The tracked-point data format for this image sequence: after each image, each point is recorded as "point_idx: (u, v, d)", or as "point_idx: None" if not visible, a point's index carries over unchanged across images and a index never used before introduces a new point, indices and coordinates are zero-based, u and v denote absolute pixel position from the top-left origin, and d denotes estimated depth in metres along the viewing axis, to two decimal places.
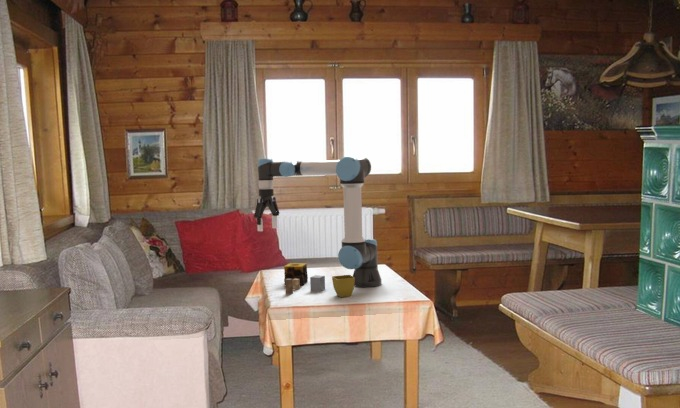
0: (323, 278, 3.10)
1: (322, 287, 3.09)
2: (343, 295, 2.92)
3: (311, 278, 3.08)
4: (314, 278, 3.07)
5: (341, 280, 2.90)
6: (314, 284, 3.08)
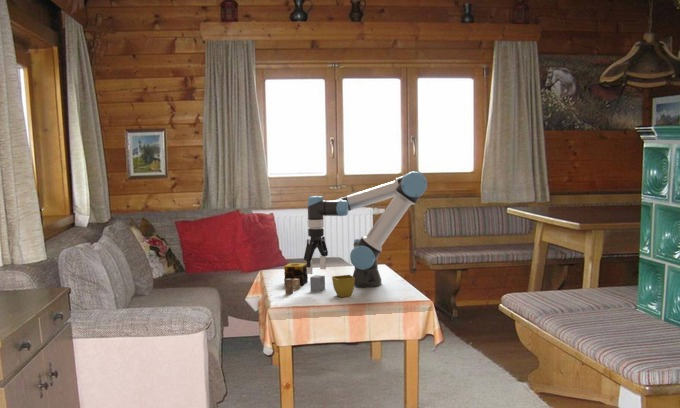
0: (323, 278, 3.10)
1: (322, 287, 3.09)
2: (343, 295, 2.92)
3: (311, 278, 3.08)
4: (314, 278, 3.07)
5: (341, 280, 2.90)
6: (314, 284, 3.08)
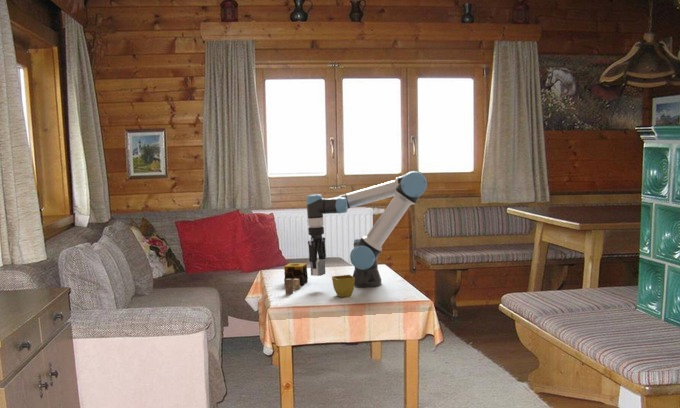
0: (323, 263, 3.09)
1: (322, 272, 3.08)
2: (343, 295, 2.92)
3: (311, 263, 3.08)
4: None
5: (341, 280, 2.90)
6: None
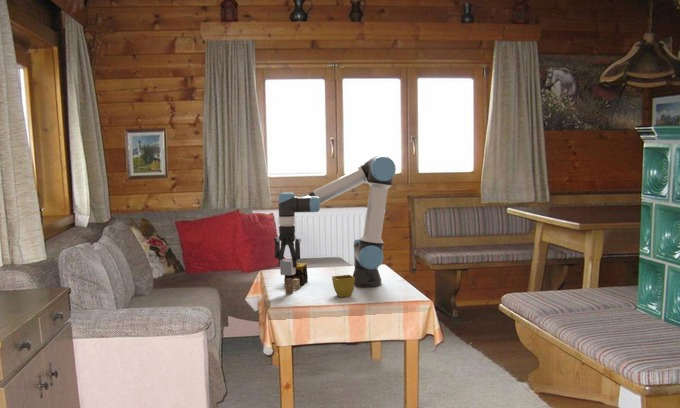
0: (287, 263, 3.00)
1: (285, 272, 3.00)
2: (343, 295, 2.92)
3: None
4: None
5: (341, 280, 2.90)
6: None
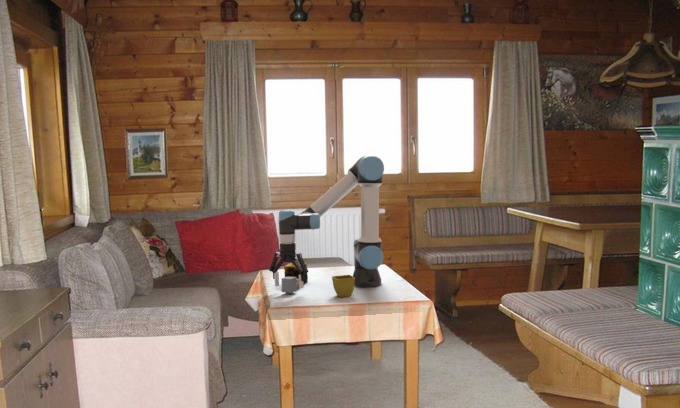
0: (288, 281, 3.00)
1: (286, 289, 3.01)
2: (343, 295, 2.92)
3: None
4: None
5: (341, 280, 2.90)
6: None
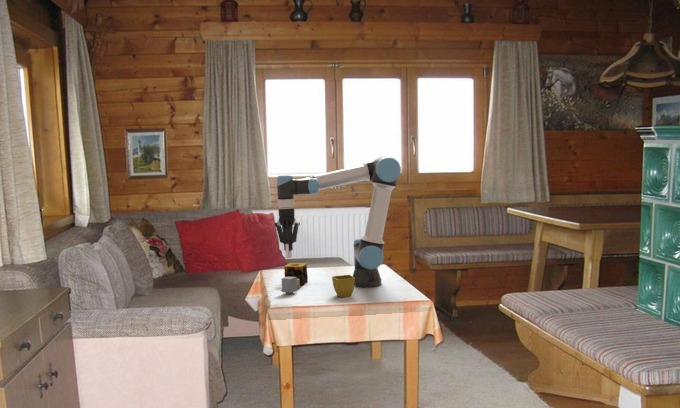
0: (288, 281, 3.00)
1: (286, 289, 3.01)
2: (343, 295, 2.92)
3: None
4: None
5: (341, 280, 2.90)
6: None
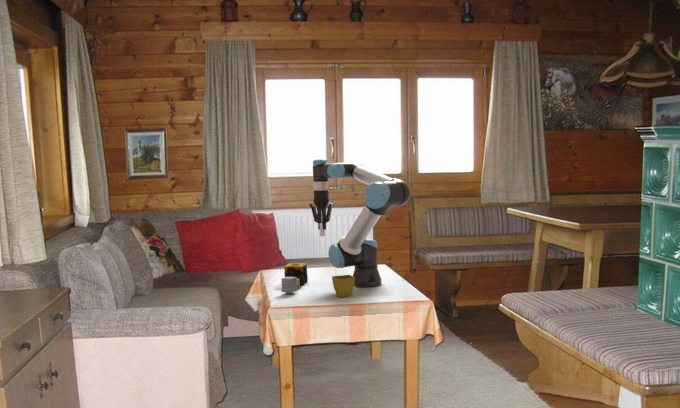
0: (288, 281, 3.00)
1: (286, 289, 3.01)
2: (343, 295, 2.92)
3: None
4: None
5: (341, 280, 2.90)
6: None
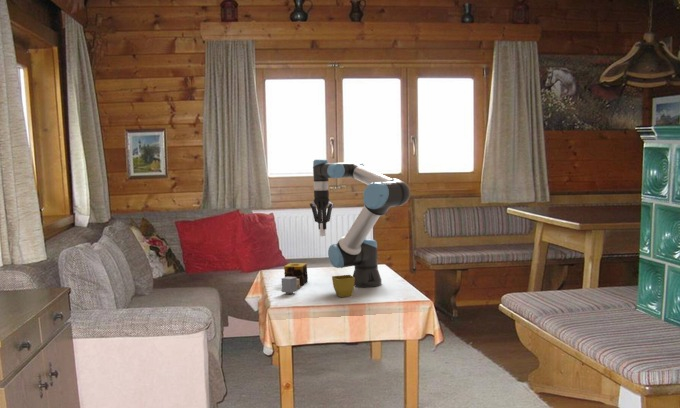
0: (288, 281, 3.00)
1: (286, 289, 3.01)
2: (343, 295, 2.92)
3: None
4: None
5: (341, 280, 2.90)
6: None
